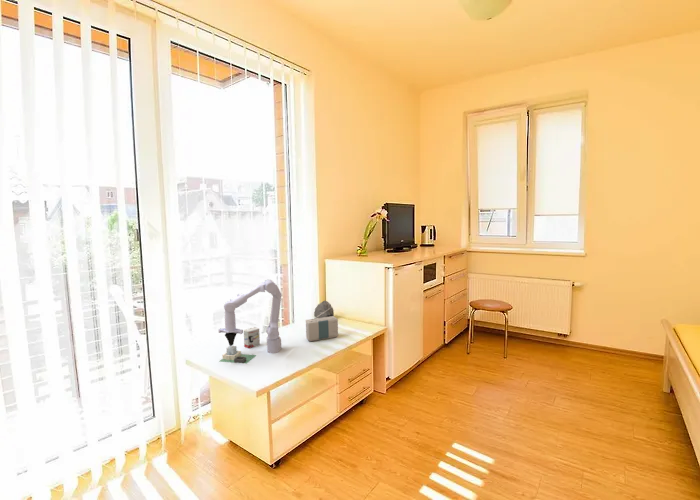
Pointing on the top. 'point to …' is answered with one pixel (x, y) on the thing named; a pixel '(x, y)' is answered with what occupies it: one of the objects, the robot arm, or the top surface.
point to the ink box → (251, 337)
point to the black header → (239, 359)
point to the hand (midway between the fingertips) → (231, 345)
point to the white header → (231, 356)
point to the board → (248, 357)
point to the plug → (231, 350)
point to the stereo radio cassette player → (321, 328)
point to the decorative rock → (323, 310)
